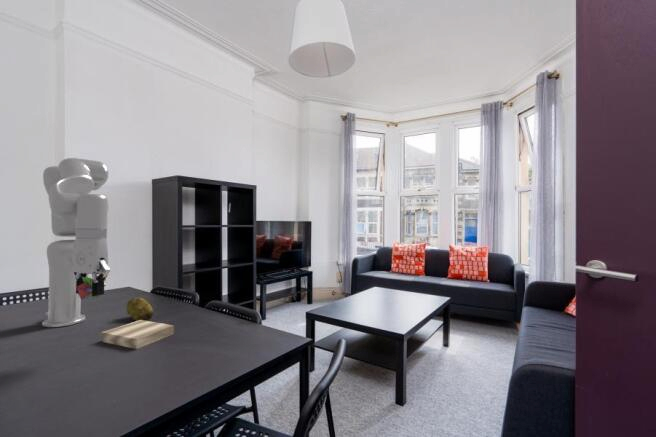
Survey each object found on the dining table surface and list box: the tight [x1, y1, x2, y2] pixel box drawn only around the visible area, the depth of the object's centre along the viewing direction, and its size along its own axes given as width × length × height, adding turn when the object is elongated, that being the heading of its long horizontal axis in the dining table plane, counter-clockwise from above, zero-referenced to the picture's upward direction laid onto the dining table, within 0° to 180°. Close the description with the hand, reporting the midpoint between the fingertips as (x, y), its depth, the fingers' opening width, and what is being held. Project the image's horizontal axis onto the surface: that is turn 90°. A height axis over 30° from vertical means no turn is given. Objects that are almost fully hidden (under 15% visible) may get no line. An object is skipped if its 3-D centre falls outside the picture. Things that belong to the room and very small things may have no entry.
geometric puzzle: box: [76, 274, 107, 300], centre depth 93 cm, size 7×7×8 cm
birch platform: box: [100, 320, 175, 350], centre depth 105 cm, size 16×14×3 cm
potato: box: [125, 297, 155, 321], centre depth 125 cm, size 8×13×8 cm, turn 41°
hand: (89, 293), depth 93 cm, fingers closed on geometric puzzle, 6 cm apart
